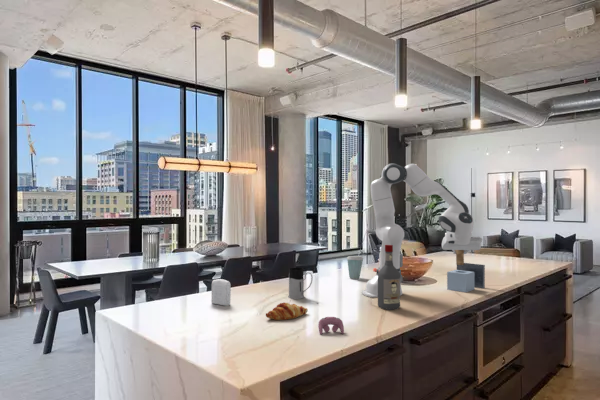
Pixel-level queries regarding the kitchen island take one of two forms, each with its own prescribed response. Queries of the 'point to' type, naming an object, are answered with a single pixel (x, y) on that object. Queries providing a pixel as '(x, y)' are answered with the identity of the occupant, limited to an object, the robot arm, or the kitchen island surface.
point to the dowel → (460, 257)
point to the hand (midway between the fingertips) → (459, 252)
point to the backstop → (475, 273)
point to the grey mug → (297, 283)
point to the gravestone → (221, 292)
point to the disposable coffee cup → (354, 266)
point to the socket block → (460, 280)
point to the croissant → (286, 311)
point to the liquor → (388, 283)
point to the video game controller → (330, 321)
